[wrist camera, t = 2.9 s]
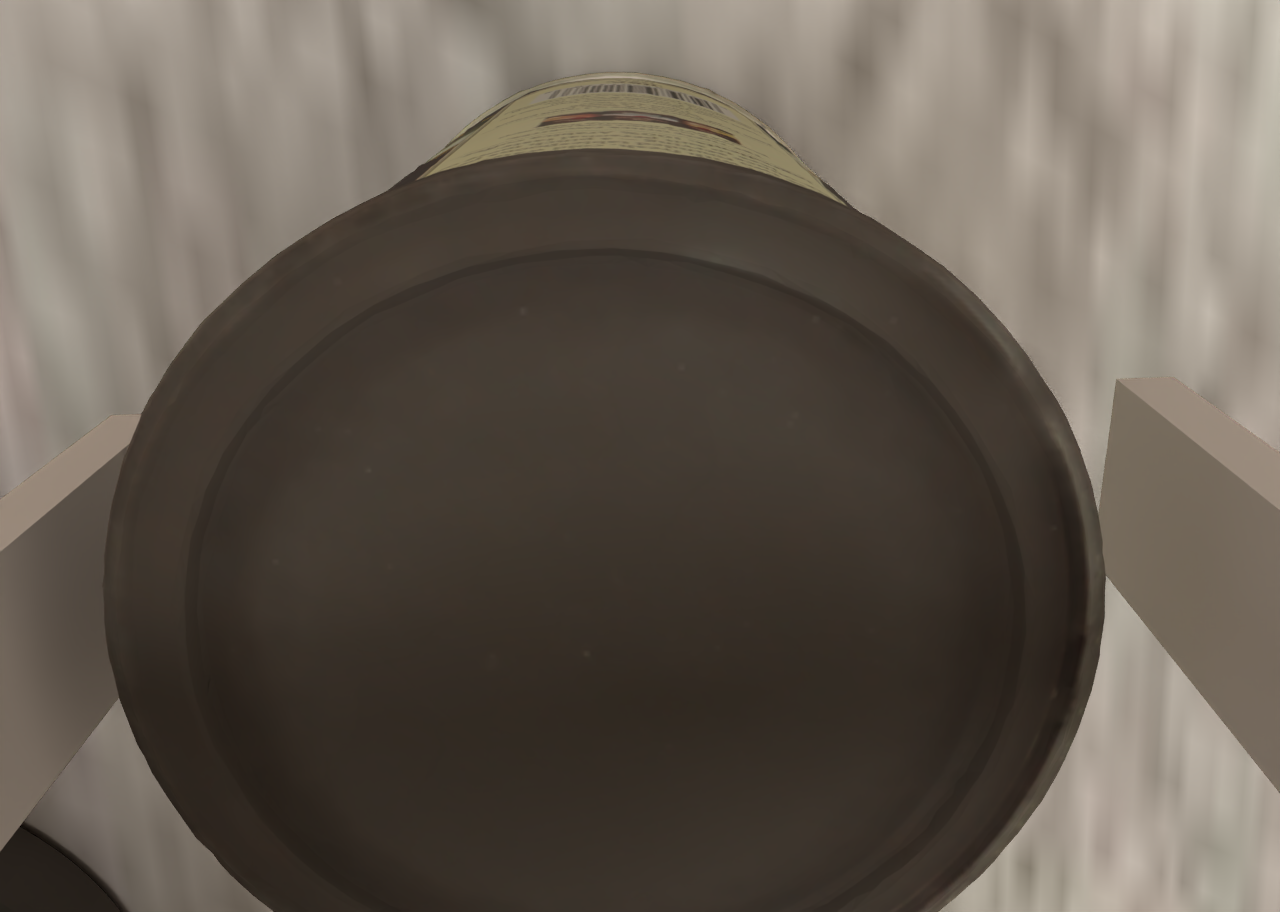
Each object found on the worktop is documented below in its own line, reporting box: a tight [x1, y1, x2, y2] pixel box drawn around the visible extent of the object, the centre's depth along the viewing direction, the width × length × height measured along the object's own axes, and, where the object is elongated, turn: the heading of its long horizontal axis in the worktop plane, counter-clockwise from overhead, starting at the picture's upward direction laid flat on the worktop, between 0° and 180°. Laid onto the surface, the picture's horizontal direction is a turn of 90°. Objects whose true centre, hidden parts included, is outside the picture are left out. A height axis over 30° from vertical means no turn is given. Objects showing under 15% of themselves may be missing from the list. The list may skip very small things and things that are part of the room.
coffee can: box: [102, 72, 1106, 912], centre depth 18 cm, size 10×10×14 cm
